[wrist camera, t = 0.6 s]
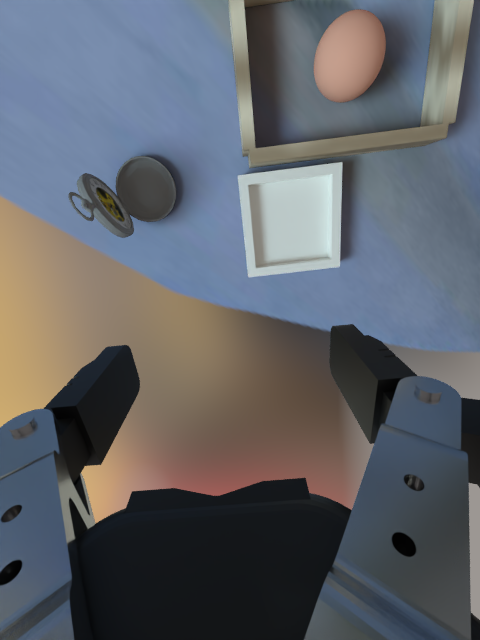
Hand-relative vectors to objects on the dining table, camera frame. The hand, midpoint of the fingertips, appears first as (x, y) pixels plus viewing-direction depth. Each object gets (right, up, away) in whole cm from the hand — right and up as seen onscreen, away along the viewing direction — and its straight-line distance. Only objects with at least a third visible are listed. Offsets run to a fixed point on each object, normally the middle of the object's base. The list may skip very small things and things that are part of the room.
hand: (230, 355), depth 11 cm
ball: (+10, +26, +16) cm, 32 cm away
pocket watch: (-11, +16, +21) cm, 28 cm away
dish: (+6, +13, +22) cm, 26 cm away
